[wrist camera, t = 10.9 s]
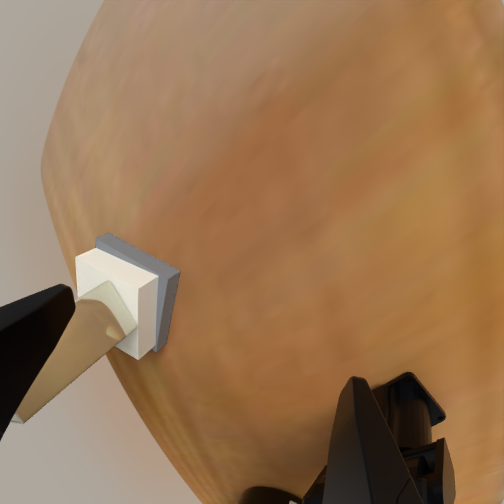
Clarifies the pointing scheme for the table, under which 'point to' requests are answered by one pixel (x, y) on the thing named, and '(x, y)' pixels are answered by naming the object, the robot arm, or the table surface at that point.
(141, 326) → the tower top
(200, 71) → the table surface
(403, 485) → the robot arm
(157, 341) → the tower bottom
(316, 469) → the table surface
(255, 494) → the ink bottle
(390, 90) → the table surface
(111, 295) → the skincare box
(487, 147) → the table surface
